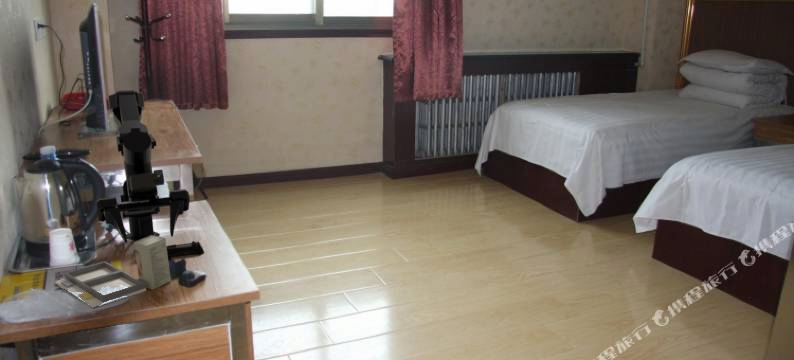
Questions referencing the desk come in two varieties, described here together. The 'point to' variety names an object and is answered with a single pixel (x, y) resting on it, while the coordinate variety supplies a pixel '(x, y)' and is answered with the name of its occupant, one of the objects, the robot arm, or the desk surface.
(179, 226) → the desk surface
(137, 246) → the skincare box
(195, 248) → the electric trimmer
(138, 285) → the divided tray
